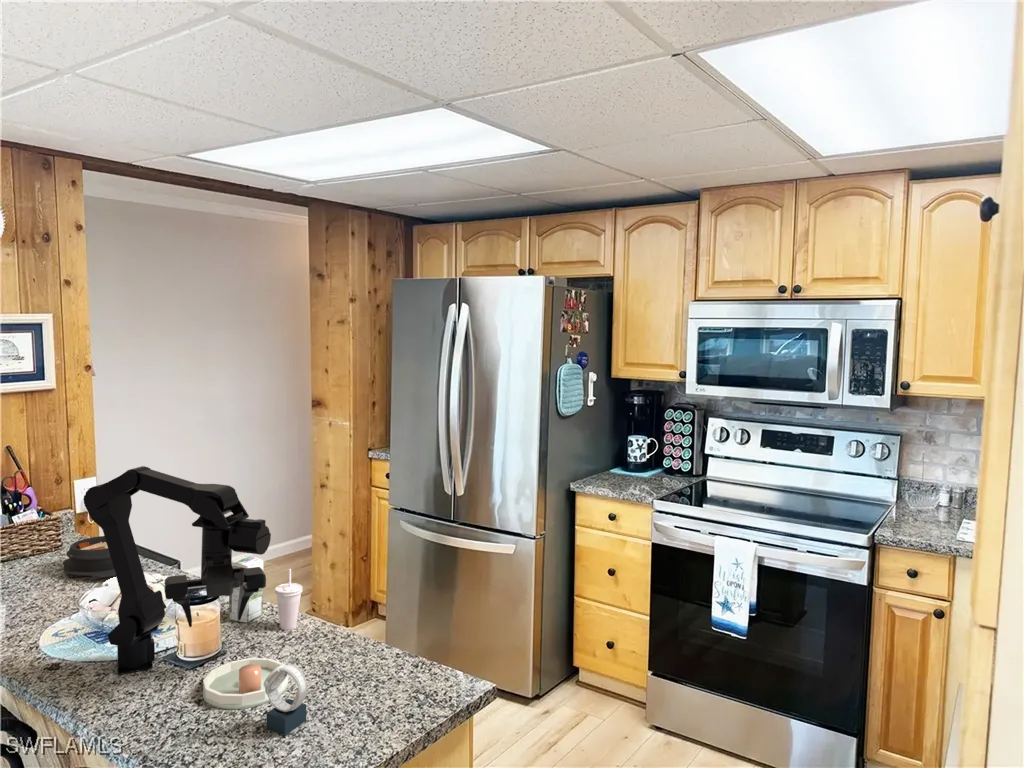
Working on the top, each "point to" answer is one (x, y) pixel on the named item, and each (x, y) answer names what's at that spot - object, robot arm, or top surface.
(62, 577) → the top surface
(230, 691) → the groove tray
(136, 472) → the robot arm
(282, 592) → the smoothie
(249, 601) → the syrup box
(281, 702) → the watch
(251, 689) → the bead
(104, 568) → the casserole
